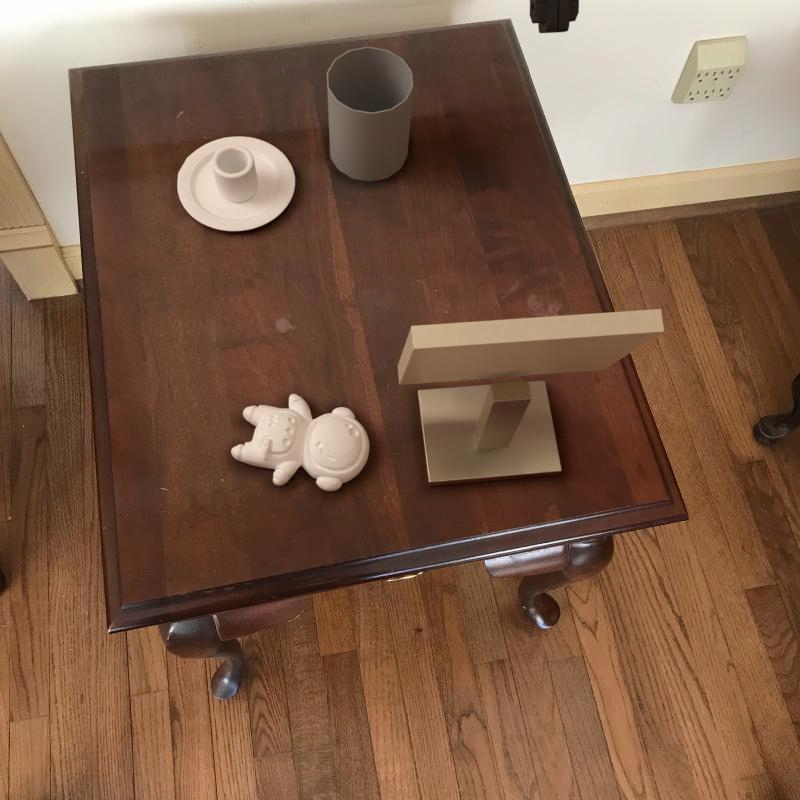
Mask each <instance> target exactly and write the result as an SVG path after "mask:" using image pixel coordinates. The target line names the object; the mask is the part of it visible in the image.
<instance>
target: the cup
mask: <svg viewBox="0 0 800 800" xmlns="http://www.w3.org/2000/svg"><path fill="white" fill-rule="evenodd" d="M326 86H327V91H326V92H327V112H328V113H327V115H328V135H329V136H328V139H329V157H330V160H331V161H332V163H333V164H334V166H335V167H336V169H337V170H338V171H339V172H341V173H343V174H344V175H346V176H348V177H349V178H350V179H352V180H357V181H364V182H368V183H369V182H370V183H371V182H377V181H380V180H385V179H389V178H390V177H391V176H393V175H394V174H396V173H397V172H398V171H400V170H401V169H402V168H403V165H404V163H405V162H406V160H407V158H408V153H409V142H410V131H411V119H412V106H413V94H414V79H413V71H412V70H411V68H410V67H409V65H408V64H407V62H406V61H405V60H404V59H403V58H402V57H400V56H399V55H397V54H395V53H394V52H392V51H390V50H388V49H385V48H378V47H372V46H363V47H359V48H354V49H349V50H347V51H345V52H344V53H342V54H341V55H338V57H336V58H334V60H333V61H332V62H331V65H330V67H328V70H327V72H326Z"/></svg>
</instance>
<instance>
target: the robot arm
mask: <svg viewBox="0 0 800 800" xmlns="http://www.w3.org/2000/svg"><path fill="white" fill-rule="evenodd" d="M579 12H580V0H529V18H530V21H531V23H532V24H537V26H538V29H537V30H538V33H539V34H555V33H556V34H557V33H567V32H568V31H569V29H570V23H571V22H572V23H573V22H576V21H577V18H578V15H579V14H580V13H579Z"/></svg>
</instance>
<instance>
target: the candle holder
mask: <svg viewBox="0 0 800 800" xmlns="http://www.w3.org/2000/svg"><path fill="white" fill-rule="evenodd" d="M289 160H290V159H288V157H287V156H286V155H285V154H284V153H283V152H282V151H281V150H280V149H278V147H276V146H274V145H273V144H271V143H269V142H267V141H265V140H262V139H260V138H256V137H251V136H240V135H239V136H235V135H234V136H228V137H222V138H218V139H215V140H212V141H209V142H208V143H206V144H203V145H202V146H200V147H199V148H197V149H195V150H194V151H193V152H192V153H190V154H189V156H187V157H186V159H185V160H184V162H183V164H182V166H181V167H180V169H179V171H178V173H177V181H176V182H177V183H176V184H177V185H176V186H177V194H178V198H179V200H180V203H181V205H182V206H183V209H184V210H185V211H186V212H187V213H188V214H189V215H190V216H191V218H193V219H195V220H196V221H197V222H199V223H200V224H202V225H205V226H207V227H209V228H212V229H214V230H218V231H219V230H220V231H225V232H242V231H243V232H244V231H250V230H253V229H257V228H259V227H262V226H264V225H267V224H268V223H270V222H272V221H273V220H275V219H276V218H277V217H279V216H280V215H281V214H282V213H283V212H284V211H285V209H286V208H287V207H288V205H289V204H290V202H291V200H292V198H293V196H294V193H295V188H296V175H295V171H294V168H293V166H292V164H291V162H290V161H289Z"/></svg>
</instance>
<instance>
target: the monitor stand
mask: <svg viewBox="0 0 800 800" xmlns="http://www.w3.org/2000/svg"><path fill="white" fill-rule="evenodd" d="M547 390H548V389H547V384H546V381H545V380H533V381H529V380H518V381H517V380H516V381H507V382H506V381H504V382H491V383H490V384H479V385H464V386H451V387H440V388H439V387H437V388H425V389H418V390H417V393H416V397H417V407H418V415H419V421H420V422H419V423H420V432H421V439H422V448H423V455H424V464H425V465H424V466H425V471H426V481H427V486H428V487H435V486H448V485H459V484H472V483H481V482H493V481H495V482H497V481H505V480H506V481H507V480H518V479H530V478H542V477H552V476H553V477H554V476H560V474H561V473H562V471H563V469H562V463H561V459H560V454H559V447H558V443H557V437H556V433H555V426H554V423H553V422H554V421H553V416H552V412H551V405H550V401H549V395H548V391H547Z"/></svg>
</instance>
